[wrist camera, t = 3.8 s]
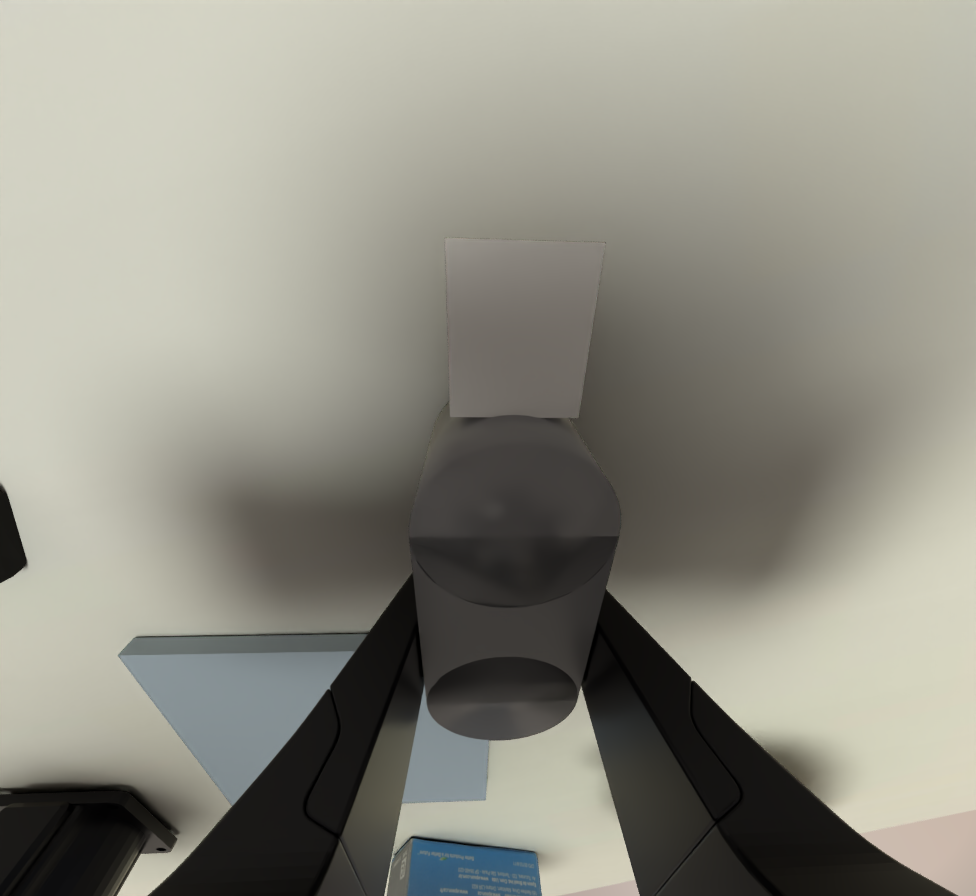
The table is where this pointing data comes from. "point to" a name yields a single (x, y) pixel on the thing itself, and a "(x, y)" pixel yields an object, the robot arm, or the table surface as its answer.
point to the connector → (512, 493)
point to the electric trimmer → (9, 542)
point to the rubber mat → (280, 708)
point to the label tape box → (462, 871)
